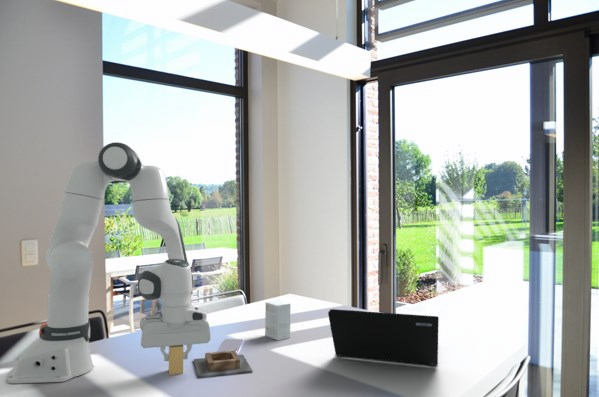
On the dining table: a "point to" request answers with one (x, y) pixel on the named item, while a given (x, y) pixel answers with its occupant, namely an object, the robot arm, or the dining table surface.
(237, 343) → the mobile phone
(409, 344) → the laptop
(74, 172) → the robot arm
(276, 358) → the dining table surface
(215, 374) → the socket board
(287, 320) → the small box
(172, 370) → the plug block
